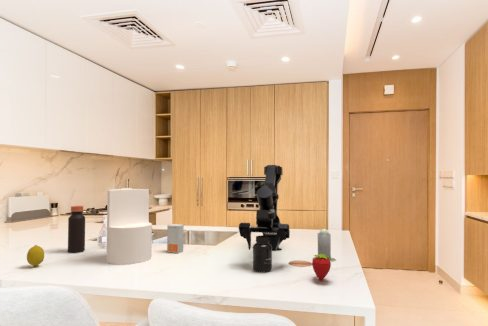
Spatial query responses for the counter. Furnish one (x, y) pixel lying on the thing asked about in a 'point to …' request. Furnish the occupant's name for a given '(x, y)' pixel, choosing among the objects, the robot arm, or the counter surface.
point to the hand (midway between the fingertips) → (262, 249)
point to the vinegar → (76, 230)
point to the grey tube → (324, 243)
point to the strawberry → (321, 266)
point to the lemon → (35, 255)
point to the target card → (304, 263)
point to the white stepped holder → (128, 226)
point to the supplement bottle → (262, 254)
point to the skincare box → (175, 238)
